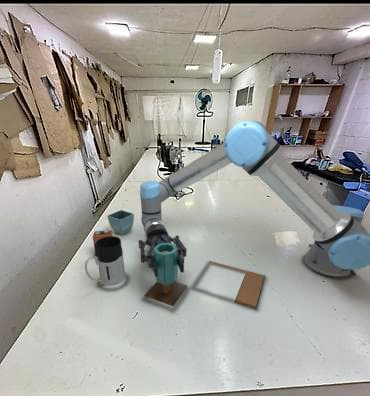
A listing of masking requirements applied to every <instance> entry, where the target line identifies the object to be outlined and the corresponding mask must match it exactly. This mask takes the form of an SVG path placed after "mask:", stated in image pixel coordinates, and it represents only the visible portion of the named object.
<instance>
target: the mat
mask: <svg viewBox="0 0 370 396" xmlns="http://www.w3.org/2000/svg"><path fill="white" fill-rule="evenodd" d="M208 263H209V264H211V265H215V266H219V267H223V268H227V269H230V270H234V271H238V272H242V273H245V274H244V276H243V279H242V281H241V284H240V287H239V289H238V291H237V294H236V296H235V299H234V301H233V302H234V303H236V304H239V305H242V306H246V307H248V308H251V309H254V310H256V309H257V305H258V301H259V299H260V294H261V290H262V287H263V283H264V279H265V274H262V273H261V274H260V273H257V272H254V271H253V272H252V271H249V270H245V269H242V268H238V267H234V266H230V265H227V264H223V263H220V262H216V261H211V260H209V261H208Z"/></svg>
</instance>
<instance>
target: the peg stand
mask: <svg viewBox="0 0 370 396" xmlns="http://www.w3.org/2000/svg"><path fill="white" fill-rule="evenodd" d="M167 252H169V251H163V253H167ZM188 287H189V285H188V284H183V283H181V282H177V281H175V282H173V283H170V284H166V285H164V284H161V283H158V282H157V281H156V282H155V283H154V284H153V285H152V287H150V288H149V289H148V291H147V292H145V294H144V295H143V296H144V297H146V298H148V299H151V300H154V301H157V302H160V303H162V304H165V305H167V306H171V307H172V308H173V307H174V306H175V305H176V304H177V303H178V302H179V299H180V298H181V297H182V295H183V294H184V292H186V290H187V288H188Z"/></svg>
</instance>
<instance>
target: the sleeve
mask: <svg viewBox="0 0 370 396" xmlns="http://www.w3.org/2000/svg"><path fill="white" fill-rule="evenodd" d="M171 243H172V242H171ZM171 243H161V244H158V245H157V246H155V247H154V258H155V261H156V265H157V269H158V277H155V276H154V278H155V281H156V282H158V283H161V284H164V285H166V284H170V283H173V282H177V280H178V278H179V270H178V269H179V266H178V249H177V247H176V245H175V244H174V243H172V244H171ZM163 251H169V252H167V253H163Z"/></svg>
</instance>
